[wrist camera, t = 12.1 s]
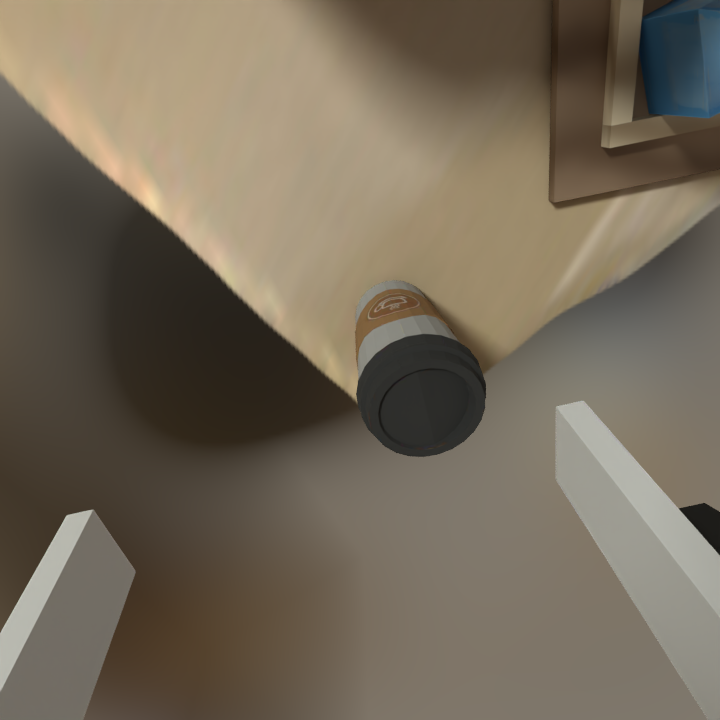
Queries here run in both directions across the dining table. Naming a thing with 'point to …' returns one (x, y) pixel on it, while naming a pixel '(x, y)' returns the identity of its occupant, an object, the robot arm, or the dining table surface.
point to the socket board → (613, 107)
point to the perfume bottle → (682, 58)
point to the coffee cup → (414, 373)
